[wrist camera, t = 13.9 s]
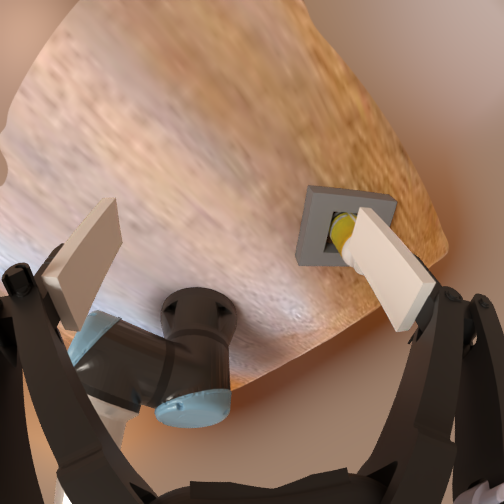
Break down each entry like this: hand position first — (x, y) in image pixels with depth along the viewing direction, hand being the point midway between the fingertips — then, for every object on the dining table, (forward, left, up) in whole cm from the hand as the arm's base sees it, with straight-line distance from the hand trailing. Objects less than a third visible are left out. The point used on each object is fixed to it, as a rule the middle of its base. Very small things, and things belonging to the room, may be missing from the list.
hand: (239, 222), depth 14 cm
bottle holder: (-14, -20, -27) cm, 36 cm away
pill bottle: (-14, -20, -27) cm, 36 cm away
